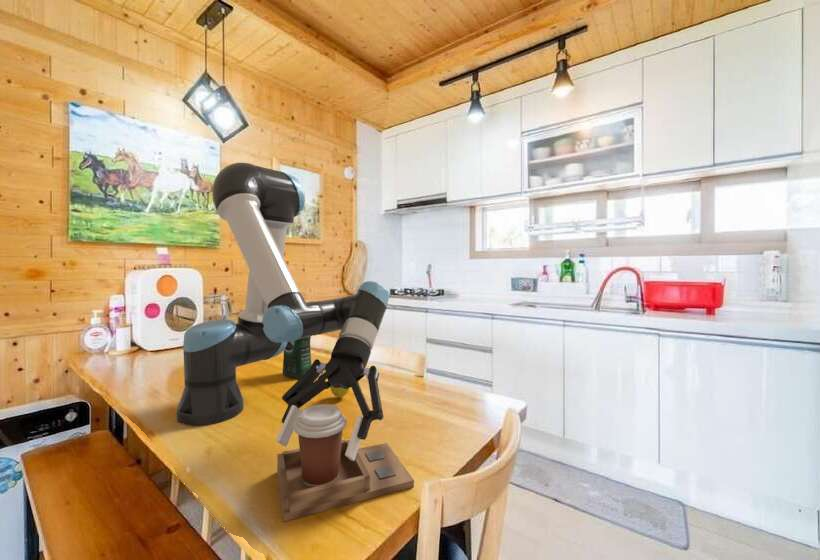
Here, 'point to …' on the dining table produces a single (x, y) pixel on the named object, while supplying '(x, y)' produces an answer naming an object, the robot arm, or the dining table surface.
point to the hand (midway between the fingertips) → (314, 450)
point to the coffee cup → (320, 443)
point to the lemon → (339, 391)
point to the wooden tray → (340, 480)
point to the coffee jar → (297, 358)
